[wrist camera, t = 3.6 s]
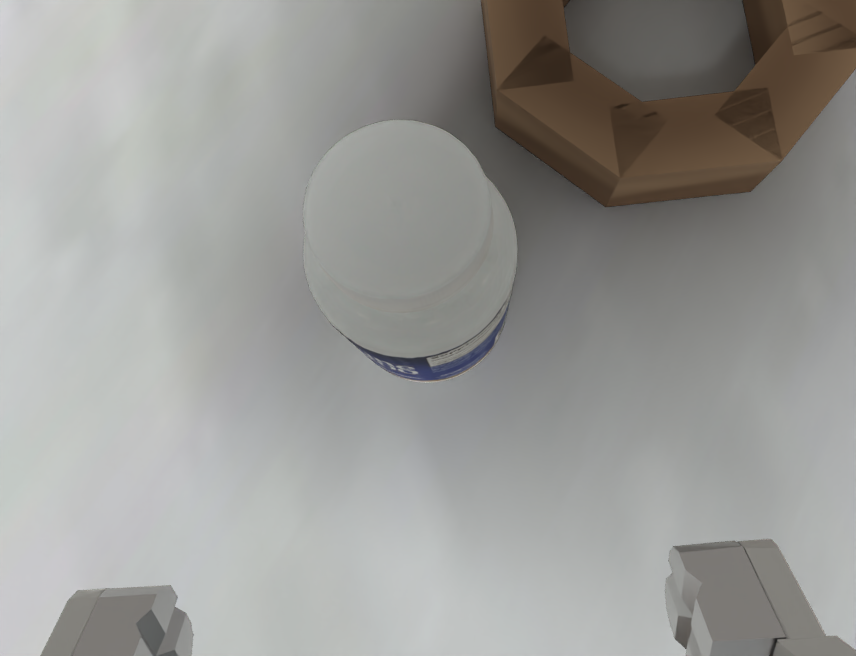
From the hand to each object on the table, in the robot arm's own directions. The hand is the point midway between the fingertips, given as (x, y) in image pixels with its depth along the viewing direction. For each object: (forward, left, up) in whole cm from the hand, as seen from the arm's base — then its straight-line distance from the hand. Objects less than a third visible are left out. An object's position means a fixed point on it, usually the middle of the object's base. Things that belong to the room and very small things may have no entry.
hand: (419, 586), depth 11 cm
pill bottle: (0, +7, -11) cm, 14 cm away
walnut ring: (+9, +16, -11) cm, 22 cm away
